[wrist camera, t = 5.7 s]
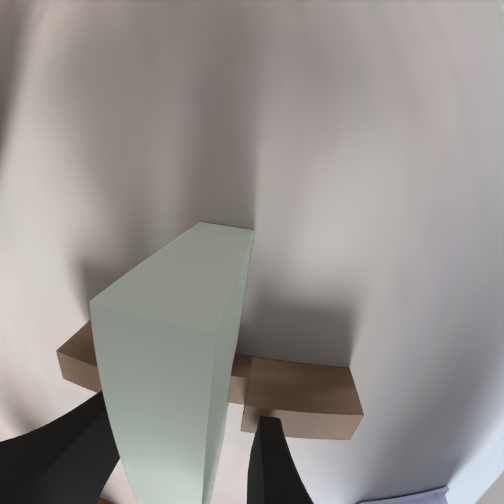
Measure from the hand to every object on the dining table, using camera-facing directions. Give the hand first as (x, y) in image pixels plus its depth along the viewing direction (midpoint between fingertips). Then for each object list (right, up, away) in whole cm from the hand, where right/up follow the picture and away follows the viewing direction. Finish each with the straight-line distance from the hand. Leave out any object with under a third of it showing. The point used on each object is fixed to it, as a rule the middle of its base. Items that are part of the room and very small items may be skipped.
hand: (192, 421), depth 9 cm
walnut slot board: (0, +1, +3) cm, 4 cm away
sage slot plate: (0, +1, +3) cm, 4 cm away
